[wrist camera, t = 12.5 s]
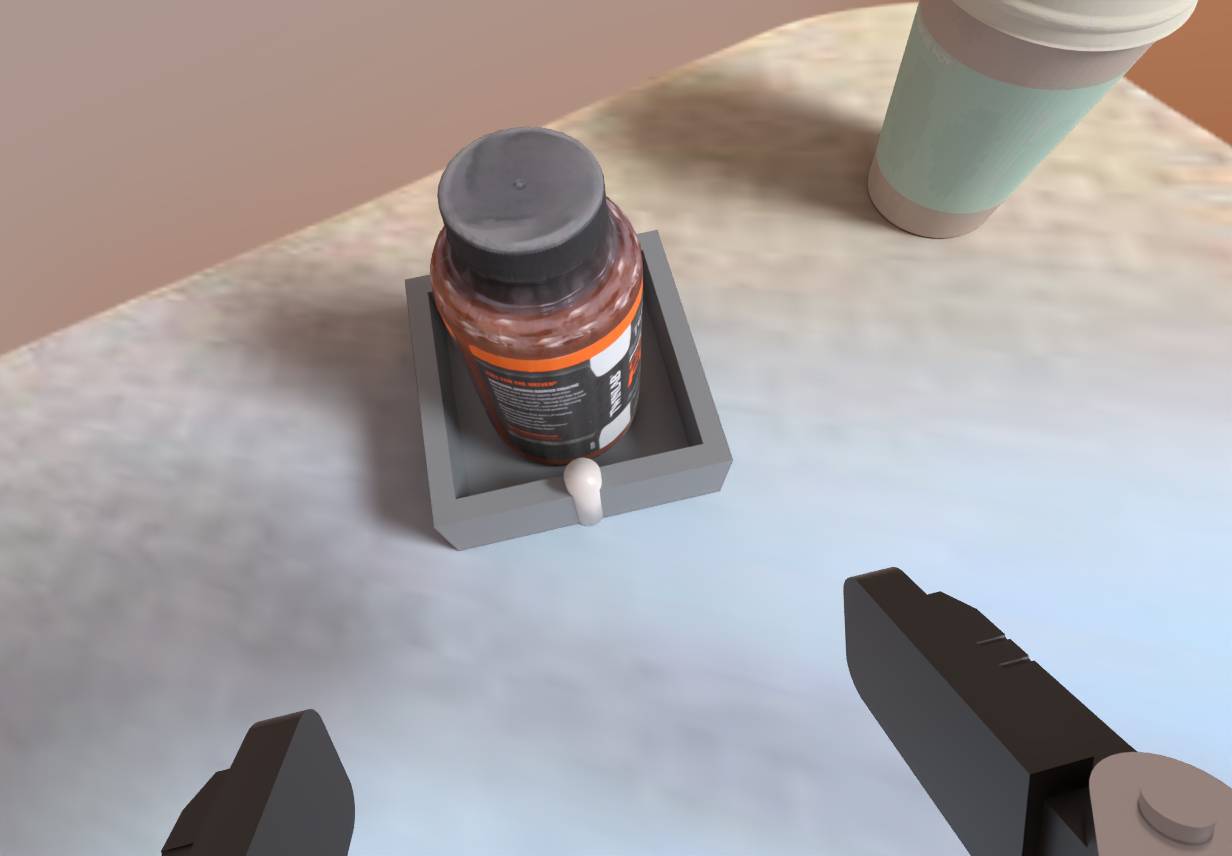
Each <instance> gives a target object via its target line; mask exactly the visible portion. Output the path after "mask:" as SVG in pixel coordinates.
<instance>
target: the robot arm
mask: <svg viewBox="0 0 1232 856" xmlns="http://www.w3.org/2000/svg"><path fill="white" fill-rule="evenodd" d="M844 614H845V637H846V656H847V663H848V667H849V671H850V674H851V677H852V680H853V682H854V685H855V687H856V689H857V691H858V693H859V695H860V697H861V698H862V700H863V701H864V703H865V704H866V706H867V707H868V708H869V710H870V711H871V713H872V714H873V716H874V717H875V719H876V720H877V721H878V723H879V724H880V726H881V727H882V729H883V730H884V731H885V733H886V734H887V736H888V737H889V739H890V740H891V742H892V743H893V744H894V746H895V747H896V749H897V750H898V752H899V753H900V754H901V756H902V757H903V759H904V760H905V762H906V763H907V765H908V766H909V767H910V769H911V770H912V772H913V773H914V775H915V776H916V777H917V779H918V780H919V782H920V783H921V785H922V786H923V787H924V789H925V790H926V792H927V793H928V795H929V796H930V798H931V799H932V800H933V802H934V803H935V805H936V806H937V808H938V809H939V810H940V812H941V813H942V815H943V816H944V818H945V819H946V821H947V822H948V823H949V825H950V826H951V828H952V829H953V831H954V832H955V833H956V835H957V836H958V838H959V839H960V841H961V842H962V844H963V845H964V846H965V848H966V849H967V851H968V852H969V854H970V855H971V856H1232V789H1231V788H1230V787H1229V786H1227V785H1226V784H1224V783H1223V782H1222V781H1220V780H1218V779H1217V778H1215V777H1213V776H1212V775H1210V774H1208V773H1207V772H1205V771H1202V770H1200V769H1198V768H1196V767H1194V766H1192V765H1190V764H1187V763H1184V762H1182V761H1179V760H1176V759H1173V758H1169V757H1166V756H1162V755H1157V754H1151V753H1143V752H1137V751H1136V750H1135V749H1133V748H1132V747H1131V746H1130V745H1128V744H1127V743H1126V742H1125V741H1124V740H1123V739H1122V738H1121V737H1119V736H1118V735H1117V734H1116V733H1115V732H1114V731H1113V730H1112V729H1111V728H1109V727H1108V726H1107V725H1106V724H1105V723H1104V722H1103V721H1102V720H1100V719H1099V718H1098V717H1097V716H1096V715H1095V714H1094V713H1093V712H1091V711H1090V710H1089V709H1088V708H1087V707H1086V706H1085V705H1084V704H1083V703H1081V702H1080V701H1079V700H1078V699H1077V698H1076V697H1075V696H1074V695H1072V694H1071V693H1070V692H1069V691H1068V690H1067V689H1066V688H1065V687H1063V686H1062V685H1061V684H1060V683H1059V682H1058V681H1057V680H1056V679H1054V678H1053V677H1052V676H1051V675H1050V674H1049V673H1048V672H1047V671H1046V670H1044V669H1043V668H1042V667H1041V666H1040V665H1039V664H1038V663H1037V662H1035V661H1031V660H1030V659H1029V657H1028V654H1026V653H1025V652H1024V651H1023V650H1022V649H1021V648H1020V647H1019V646H1018V645H1016V644H1015V643H1014V642H1013V641H1012V640H1011V639H1008V640H1007V639H1006V637H1005V634H1004V633H1003V632H1002V631H1001V630H1000V629H998V628H997V627H996V626H995V625H994V624H993V623H992V622H991V621H990V620H988V619H987V618H986V617H985V616H984V615H983V614H982V613H981V612H979V611H978V610H977V609H975V608H973V607H971V606H969V605H967V604H965V603H963V602H961V601H959V600H957V599H955V598H953V597H951V596H949V595H947V594H945V593H943V592H941V591H940V592H936V593H932V594H928V595H927V594H926V593H925V592H924V591H923V590H922V589H921V588H920V587H918V586H917V585H916V584H915V583H914V582H913V581H912V580H911V579H910V578H909V577H908V576H907V575H906V574H905V573H904V572H903V571H902V570H900V569H899V568H896V567H890V568H886V569H882V570H878V571H874V572H870V573H866V574H862V575H858V576H854V577H850V578H847V579H846V580H845V583H844ZM354 821H355V803H354V795H353V790H352V786H351V783H350V780H349V778H348V776H347V774H346V772H345V769H344V767H343V765H342V763H341V761H340V758H339V756H338V754H337V752H336V749H335V747H334V745H333V743H332V741H331V738H330V736H329V734H328V732H327V730H326V727H325V725H324V723H323V721H322V719H321V717H320V715H319V714H318V713H317V712H316V711H315V710H313V709H308V710H304V711H300V712H296V713H292V714H288V715H284V716H280V717H276V718H272V719H268V720H264V721H260V722H257V723H255V724H254V725H252V727H251V728H250V729H249V731H248V732H247V734H246V736H245V738H244V740H243V742H242V744H241V747H240V749H239V751H238V753H237V755H236V757H235V759H234V761H233V763H232V765H231V767H230V769H226V770H222V771H219V772H216V773H215V774H214V775H213V776H212V778H211V779H210V780H209V781H208V782H207V783H206V784H205V786H204V787H203V788H202V789H201V790H200V791H199V792H198V793H197V795H196V796H195V797H194V798H193V799H192V800H191V801H190V803H189V804H188V805H187V806H186V807H185V808H184V809H183V811H182V813H181V814H180V816H179V818H178V820H177V822H176V824H175V826H174V828H173V830H172V832H171V833H170V835H169V837H168V839H167V841H166V843H165V845H164V847H163V849H162V851H161V852H162V856H347V855H348V850H349V846H350V842H351V838H352V834H353V829H354Z"/></svg>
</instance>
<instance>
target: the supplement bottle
mask: <svg viewBox="0 0 1232 856" xmlns="http://www.w3.org/2000/svg"><path fill="white" fill-rule="evenodd" d="M438 204H439V209H440V213H441V216H442V218H443V222H444V227H443V229H442V230H441V231H440V233H439V235H438V238H437V240H436V243H435V246H434V249H433V253H432V258H431V265H430V276H431V285H432V290H433V294H434V298H435V302H436V305H437V308H438V310H439V312H440V314H441V316H442V318H443V321H444V323H445V326H446V329H447V330H448V332H449V334H450V336H451V338H452V341H453V343H454V345H455V347H456V349H457V351H458V353H459V355H460V358H461V360H462V362H463V364H464V366H465V368H466V370H467V373H468V375H469V377H470V379H471V381H472V383H473V385H474V388H475V390H476V392H477V394H478V396H479V399H480V401H481V403H482V405H483V407H484V409H485V411H486V413H487V415H488V418H489V420H490V421H491V423H492V425H493V426H494V428H495V429H496V431H497V433H498V434H499V436H500V437H501V438H502V439H503V441H504V442H505V443H506V444H507V445H508V446H509V447H511V448H512V449H513V450H514V451H516V452H517V453H518V454H520V455H522V456H523V457H525V458H528V459H530V460H533V461H535V462H540V463H543V464H549V465H568V464H569V463H570V462H571V461H573V460H575V459H577V458H588V459H593V458H596V457H598V456H600V455H601V454H603V453H604V452H606V451H608V450H609V449H610V448H612V447H613V446H614V445H615V444H616V443H617V442H618V441H619V440H620V439H621V438H622V437H623V436H624V434H625V433H626V432H627V430H628V428H629V427H630V425H631V423H632V421H633V419H634V416H635V413H636V409H637V404H638V401H639V389H640V368H641V365H640V362H641V327H642V305H643V303H642V298H643V262H642V253H641V244H640V242H639V240H638V238H637V235H636V233H635V231H634V229H633V227H632V225H631V223H630V221H629V220H628V218H627V217H626V215H625V214H624V213H623V211H622V210H621V209H620V208H619V207H618V206H617V205H616V204H615V203H614V202H612V201H611V200H610V199H609V198H608V197H606V194H605V183H604V176H603V173H602V170H601V167H600V165H599V163H598V162H597V160H596V158H595V157H594V155H593V154H592V153H591V152H590V150H589V149H588V148H587V147H585V146H584V145H583V144H582V143H580V142H579V141H577V140H576V139H574V138H572V137H570V136H567V135H566V134H564V133H562V132H558V131H555V130H551V129H546V128H540V127H520V128H511V129H506V130H499V131H497V132H494V133H491V134H488V135H485V136H483V137H481V138H479V139H477V140H474V141H473V142H472V143H471V144H470V145H468V146H467V147H465V148H463V149H462V150H461V151H460V152H459V153H458V154H457V155H456V156H455V157H454V158H453V159H452V160H451V161H450V162H449V164H448V165H447V167H446V169H445V171H444V172H443V174H442V176H441V180H440V182H439V186H438Z"/></svg>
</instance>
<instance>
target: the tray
mask: <svg viewBox="0 0 1232 856" xmlns="http://www.w3.org/2000/svg"><path fill="white" fill-rule="evenodd" d="M636 235H637V238H638V240H639V242H640V244H641V253H642V262H643V298H642V303H643V305H642V327H641V362H640V365H641V368H640V389H639V401H638V404H637V409H636V413H635V416H634V419H633V421H632V423H631V425H630V427H629V428H628V430H627V432H626V433H625V434H624V436H623V437H622V438H621V439H620V440H619V441H618V442H617V443H616V444H615V445H614V446H613V447H612V448H610V449H609V450H608V451H606V452H604V453H603V454H601V455H600V456H598V457H596V458H593V459H588V458H577V459H575V460H573V461H571V462H570V463H569V464H568V465H549V464H543V463H540V462H535V461H533V460H530V459H528V458H525V457H523V456H522V455H520V454H518V453H517V452H516V451H514V450H513V449H512V448H511V447H509V446H508V445H507V444H506V443H505V442H504V441H503V439H502V438H501V437H500V436H499V434H498V433H497V431H496V429H495V428H494V426H493V425H492V423H491V421H490V420H489V418H488V415H487V413H486V411H485V409H484V407H483V405H482V403H481V401H480V399H479V396H478V394H477V392H476V390H475V388H474V385H473V383H472V381H471V379H470V377H469V375H468V373H467V370H466V368H465V366H464V364H463V362H462V360H461V358H460V355H459V353H458V351H457V349H456V347H455V345H454V343H453V341H452V338H451V336H450V334H449V332H448V330H447V329H446V326H445V323H444V321H443V318H442V316H441V314H440V312H439V310H438V308H437V305H436V302H435V298H434V294H433V290H432V285H431V276H430V275H426V276H421V277H416V278H411V279H406V280H405V286H406V295H407V303H408V311H409V320H410V328H411V337H412V345H413V354H414V362H415V371H416V379H417V388H418V396H419V405H420V413H421V422H422V430H423V438H424V447H425V455H426V464H427V472H428V481H429V489H430V498H431V506H432V515H433V523H434V528H435V529H436V530H437V531H438V532H439V533H440V534H441V535H442V536H443V537H444V538H445V539H447V540H448V541H449V542H450V543H451V544H452V545H453V546H454V547H455V548H456V549H457V550H458V551H461V550H465V549H470V548H474V547H478V546H483V545H487V544H491V543H496V542H500V541H504V540H509V539H513V538H517V537H522V536H526V535H530V534H535V533H539V532H544V531H548V530H552V529H557V528H561V527H565V526H570V525H574V524H578V523H581V524H582V525H586V526H593V525H596V524H597V523H599V522H600V521H601V520H602V519H603V518H604V517H609V516H613V515H617V514H622V513H626V512H630V511H635V510H639V509H643V508H648V507H652V506H657V505H661V504H665V503H670V502H674V501H678V500H683V499H687V498H691V497H696V496H700V495H704V494H709V493H713V492H717V491H720V490H721V488H722V485H723V483H724V480H725V478H726V476H727V473H728V471H729V468H730V466H731V464H732V461H733V459H732V456H731V453H730V450H729V446H728V443H727V440H726V437H725V434H724V431H723V428H722V425H721V422H720V419H719V416H718V413H717V410H716V407H715V404H714V401H713V398H712V395H711V392H710V389H709V386H708V383H707V380H706V377H705V373H704V370H703V367H702V364H701V361H700V358H699V355H698V352H697V349H696V346H695V343H694V340H693V337H692V334H691V331H690V328H689V325H688V322H687V319H686V316H685V313H684V310H683V307H682V303H681V300H680V297H679V294H678V291H677V288H676V285H675V282H674V279H673V276H672V273H671V270H670V267H669V264H668V261H667V258H666V255H665V252H664V249H663V246H662V243H661V240H660V237H659V233H658V230H655V231H650V232H645V233H640V234H636Z"/></svg>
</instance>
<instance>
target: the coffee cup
mask: <svg viewBox="0 0 1232 856" xmlns="http://www.w3.org/2000/svg"><path fill="white" fill-rule="evenodd" d="M1197 1H1198V0H920V1H919V4H918V7H917V11H916V14H915V18H914V21H913V24H912V28H911V31H910V35H909V38H908V41H907V45H906V48H905V52H904V55H903V58H902V62H901V65H900V69H899V72H898V75H897V79H896V82H895V86H894V89H893V92H892V96H891V99H890V103H889V106H888V109H887V113H886V116H885V120H884V123H883V126H882V130H881V133H880V137H879V140H878V143H877V147H876V151H875V154H874V158H873V161H872V164H871V168H870V171H869V175H868V183H867V184H868V191H869V195H870V198H871V200H872V202H873V203H874V205H875V207H876V208H877V209H878V211H879V212H880V213H881V214H882V215H883V216H884V217H885V218H886V219H888V220H889V221H890V222H892V223H893V224H895V225H896V226H898V227H900V228H902V229H904V230H906V231H908V232H910V233H913V234H917V235H920V236H925V237H931V238H950V237H956V236H961V235H964V234H967V233H969V232H971V231H973V230H975V229H976V228H978V227H979V226H980V225H982V224H983V223H984V222H985V221H986V220H987V218H988V217H989V216H990V215H991V214H992V213H993V212H994V211H995V210H996V209H997V208H998V207H999V206H1000V205H1001V204H1002V203H1003V202H1004V201H1005V200H1006V199H1007V198H1008V197H1009V196H1010V195H1011V194H1012V192H1013V191H1014V190H1015V189H1016V188H1017V187H1018V186H1019V185H1020V184H1021V183H1022V182H1023V181H1024V180H1025V179H1026V178H1027V177H1028V176H1029V175H1030V173H1031V172H1032V171H1033V170H1034V169H1035V168H1036V167H1037V166H1038V165H1039V164H1040V163H1041V162H1042V161H1043V160H1044V159H1045V158H1046V157H1047V156H1048V154H1049V153H1050V152H1051V151H1052V150H1053V149H1054V148H1055V147H1056V146H1057V145H1058V144H1059V143H1060V142H1061V141H1062V140H1063V139H1064V138H1065V137H1066V135H1067V134H1068V133H1069V132H1070V131H1071V130H1072V129H1073V128H1074V127H1075V126H1076V125H1077V124H1078V123H1079V122H1080V121H1081V120H1082V119H1083V117H1084V116H1085V115H1086V114H1087V113H1088V112H1089V111H1090V110H1091V109H1092V108H1093V107H1094V106H1095V105H1096V104H1097V103H1098V102H1099V101H1100V100H1101V98H1102V97H1103V96H1104V95H1105V94H1106V93H1107V92H1108V91H1109V90H1110V89H1111V88H1112V87H1113V86H1114V85H1115V84H1116V83H1117V82H1118V81H1119V79H1120V78H1121V77H1122V76H1123V75H1124V74H1125V73H1126V72H1127V71H1128V70H1129V69H1130V68H1131V67H1132V66H1133V65H1134V64H1135V62H1136V61H1137V60H1138V59H1139V58H1140V57H1141V56H1142V55H1143V54H1144V53H1145V52H1146V51H1147V50H1148V49H1149V48H1150V46H1151V45H1152V44H1153V43H1154V42H1155V41H1157V40H1159V39H1161V38H1164V37H1166V36H1167V35H1169V34H1171V33H1172V32H1174V31H1175V30H1177V29H1178V28H1179V27H1181V26H1182V25H1183V24H1184V23H1185V22H1186V21H1187V20H1188V18H1189V17H1190V16H1191V14H1192V13H1193V11H1194V9H1195V7H1196V4H1197Z"/></svg>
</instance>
